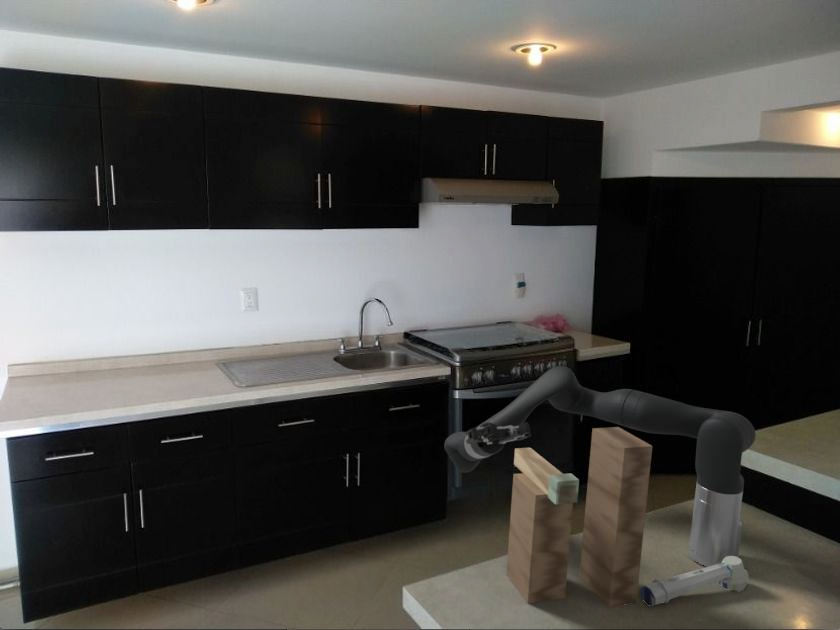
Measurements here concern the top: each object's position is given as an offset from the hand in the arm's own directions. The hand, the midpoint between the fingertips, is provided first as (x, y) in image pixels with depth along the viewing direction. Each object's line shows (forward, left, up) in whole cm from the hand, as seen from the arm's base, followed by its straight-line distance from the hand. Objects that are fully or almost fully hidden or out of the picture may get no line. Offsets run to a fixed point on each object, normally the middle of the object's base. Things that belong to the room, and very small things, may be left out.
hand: (509, 428), depth 138 cm
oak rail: (0, +16, -6) cm, 17 cm away
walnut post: (-14, +21, -28) cm, 37 cm away
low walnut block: (0, +17, -28) cm, 32 cm away
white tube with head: (-31, +26, -28) cm, 49 cm away
